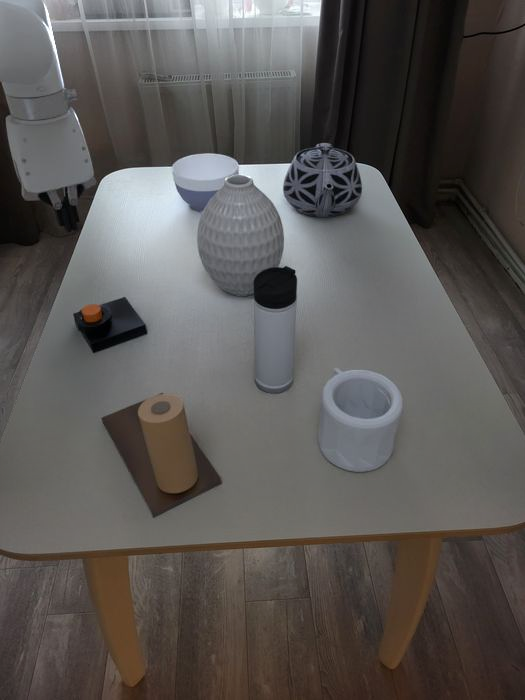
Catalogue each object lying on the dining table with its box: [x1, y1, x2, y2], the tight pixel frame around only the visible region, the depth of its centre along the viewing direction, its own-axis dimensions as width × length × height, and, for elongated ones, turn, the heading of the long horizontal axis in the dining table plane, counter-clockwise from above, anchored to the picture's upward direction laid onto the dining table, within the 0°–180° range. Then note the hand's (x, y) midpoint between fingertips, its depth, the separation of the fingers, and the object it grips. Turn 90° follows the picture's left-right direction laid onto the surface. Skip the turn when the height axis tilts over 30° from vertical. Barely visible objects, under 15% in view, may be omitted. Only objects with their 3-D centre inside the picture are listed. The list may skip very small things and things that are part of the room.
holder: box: [101, 392, 222, 519], centre depth 79 cm, size 10×19×1 cm, turn 32°
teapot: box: [282, 142, 363, 218], centre depth 132 cm, size 19×31×15 cm, turn 179°
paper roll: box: [138, 393, 198, 493], centre depth 71 cm, size 6×12×6 cm
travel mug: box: [252, 265, 298, 394], centre depth 84 cm, size 6×7×20 cm
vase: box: [196, 174, 285, 297], centre depth 104 cm, size 16×16×22 cm
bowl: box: [171, 153, 240, 213], centre depth 135 cm, size 16×16×10 cm
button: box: [81, 303, 102, 322], centre depth 97 cm, size 3×3×2 cm
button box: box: [72, 296, 148, 354], centre depth 100 cm, size 11×10×4 cm
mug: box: [317, 367, 404, 473], centre depth 78 cm, size 14×11×10 cm
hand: (70, 227), depth 86 cm, fingers closed
